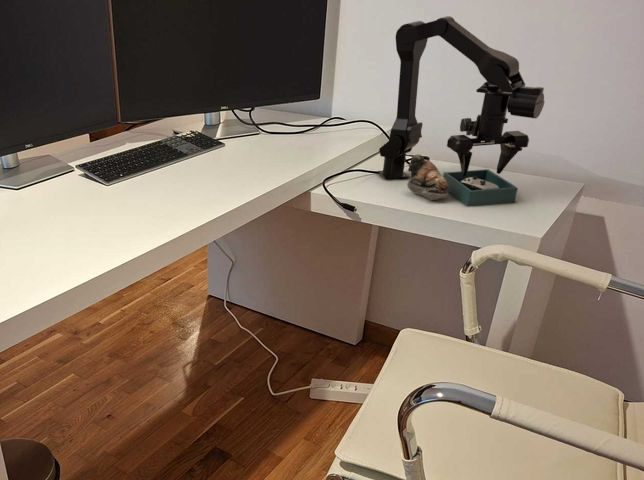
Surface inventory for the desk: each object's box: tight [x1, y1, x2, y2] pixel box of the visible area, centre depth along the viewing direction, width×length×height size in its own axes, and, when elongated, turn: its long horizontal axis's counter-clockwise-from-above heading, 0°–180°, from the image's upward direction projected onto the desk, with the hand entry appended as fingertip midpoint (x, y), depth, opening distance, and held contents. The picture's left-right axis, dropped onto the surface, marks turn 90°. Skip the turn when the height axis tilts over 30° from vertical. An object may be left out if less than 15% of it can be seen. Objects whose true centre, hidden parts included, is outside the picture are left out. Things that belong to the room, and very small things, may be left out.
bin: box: [442, 168, 519, 207], centre depth 174 cm, size 15×12×4 cm
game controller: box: [461, 176, 499, 191], centre depth 174 cm, size 10×5×6 cm
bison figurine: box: [407, 153, 449, 201], centre depth 172 cm, size 12×7×10 cm, turn 33°
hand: (481, 174), depth 172 cm, fingers open, 9 cm apart
